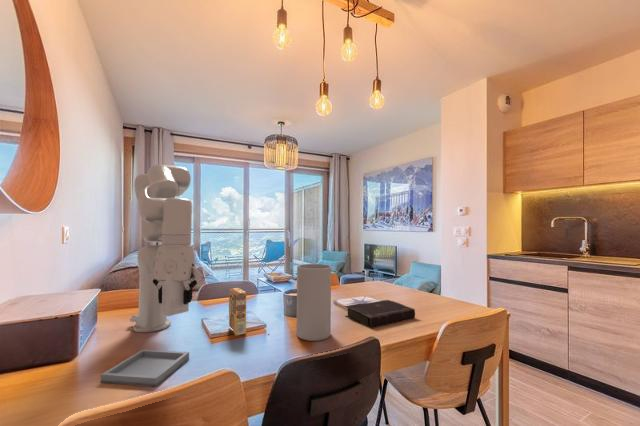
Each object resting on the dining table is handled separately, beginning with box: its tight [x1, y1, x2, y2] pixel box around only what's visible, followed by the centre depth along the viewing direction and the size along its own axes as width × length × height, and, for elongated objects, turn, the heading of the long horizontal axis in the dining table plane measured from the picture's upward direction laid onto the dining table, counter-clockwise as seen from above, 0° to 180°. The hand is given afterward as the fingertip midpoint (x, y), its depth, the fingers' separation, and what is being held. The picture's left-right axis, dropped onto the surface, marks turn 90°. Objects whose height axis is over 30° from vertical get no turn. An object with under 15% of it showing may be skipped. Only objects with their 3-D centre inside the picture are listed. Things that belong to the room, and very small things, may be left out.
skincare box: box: [162, 273, 190, 317], centre depth 85 cm, size 6×4×12 cm
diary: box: [344, 299, 416, 329], centre depth 129 cm, size 19×25×5 cm
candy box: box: [228, 287, 247, 336], centre depth 111 cm, size 9×4×15 cm, turn 33°
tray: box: [100, 349, 190, 387], centre depth 82 cm, size 15×15×2 cm
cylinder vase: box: [295, 263, 332, 342], centre depth 108 cm, size 12×12×25 cm
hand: (175, 302), depth 85 cm, fingers closed on skincare box, 6 cm apart
